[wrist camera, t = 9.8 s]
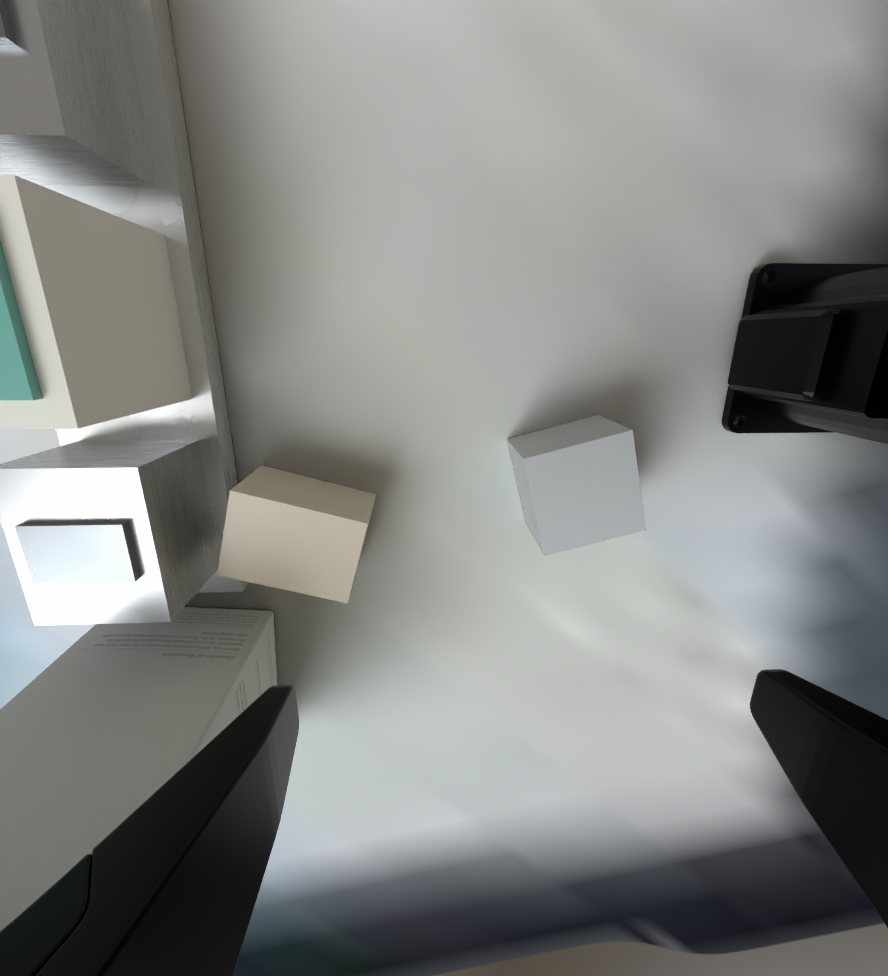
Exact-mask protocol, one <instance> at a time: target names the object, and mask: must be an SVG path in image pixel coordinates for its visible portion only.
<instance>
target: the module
mask: <svg viewBox="0 0 888 976" xmlns="http://www.w3.org/2000/svg"><path fill="white" fill-rule="evenodd" d="M190 399H192V394H191V388H190V382H189V376H188V370H187V364H186V358H185V352H184V346H183V340H182V334H181V328H180V322H179V316H178V310H177V305H176V299H175V293H174V287H173V281H172V275H171V269H170V263H169V257H168V251H167V245H166V239H165V235H162V234H160V233H157V232H155V231H152V230H150V229H147V228H145V227H142V226H140V225H137V224H135V223H132V222H130V221H127V220H125V219H123V218H120V217H118V216H115V215H113V214H110V213H108V212H105V211H103V210H100V209H98V208H95V207H93V206H90V205H88V204H85V203H83V202H80V201H78V200H75V199H73V198H70V197H68V196H66V195H63V194H61V193H58V192H56V191H53V190H51V189H48V188H46V187H43V186H41V185H38V184H36V183H33V182H31V181H28V180H26V179H23V178H21V177H18V176H16V175H0V429H79V428H83V427H86V426H90V425H94V424H98V423H102V422H106V421H110V420H113V419H117V418H121V417H125V416H129V415H133V414H137V413H140V412H144V411H148V410H152V409H156V408H160V407H163V406H167V405H171V404H175V403H179V402H183V401H187V400H190Z"/></svg>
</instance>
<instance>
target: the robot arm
mask: <svg viewBox="0 0 888 976" xmlns="http://www.w3.org/2000/svg"><path fill="white" fill-rule="evenodd" d="M765 273H767V275H768V281H767V283H766V284H764V283H763V276H764V274H765ZM728 384H729V386H728V391H727V397H726V402H725V407H724V412H723V417H722V425H723V427H724V428H725V429H726V430H727V431H731V432H735V433H808V432H837V433H841V434H846V435H850V436H854V437H859V438H863V439H868V440H872V441H877V442H881V443H886V444H888V264H792V263H771V264H766V265H762V266H759V267H757V268H756V269H755V270H754V271H753V272H752V273H751V276H750V279H749V283H748V288H747V294H746V299H745V304H744V309H743V314H742V319H741V321H740V322H739V327H738V332H737V337H736V342H735V347H734V353H733V358H732V363H731V368H730V373H729V378H728ZM737 416H739V421H738V423H737V424H736V425H734V419H735V418H736V417H737ZM750 709H751V713H752V716H753V718H754V720H755V721H756V723H757V725H758V727H759V728H760V730H761V732H762V734H763V735H764V737H765V739H766V741H767V742H768V744H769V746H770V748H771V749H772V751H773V753H774V755H775V756H776V758H777V760H778V762H779V763H780V765H781V767H782V769H783V770H784V772H785V774H786V776H787V777H788V779H789V781H790V783H791V784H792V786H793V788H794V789H795V791H796V793H797V794H798V796H799V798H800V799H801V801H802V802H803V804H804V805H805V807H806V808H807V810H808V811H809V813H810V814H811V816H812V817H813V819H814V820H815V822H816V823H817V825H818V826H819V828H820V829H821V831H822V832H823V833H824V835H825V836H826V838H827V839H828V841H829V842H830V844H831V845H832V847H833V848H834V850H835V851H836V853H837V854H838V855H839V857H840V858H841V860H842V861H843V863H844V864H845V866H846V867H847V869H848V870H849V872H850V873H851V874H852V876H853V877H854V879H855V880H856V882H857V883H858V885H859V886H860V888H861V889H862V891H863V892H864V894H865V895H866V896H867V898H868V899H869V901H870V902H871V904H872V905H873V907H874V908H875V910H876V911H877V913H878V914H879V916H880V917H881V918H882V920H883V921H884V923H885V924H886V925H887V927H888V720H887V719H884V718H882V717H880V716H878V715H876V714H874V713H872V712H870V711H868V710H866V709H864V708H862V707H860V706H858V705H856V704H854V703H852V702H850V701H847V700H845V699H843V698H841V697H839V696H837V695H835V694H833V693H831V692H829V691H827V690H825V689H823V688H821V687H819V686H817V685H815V684H813V683H810V682H808V681H806V680H804V679H802V678H800V677H798V676H796V675H794V674H792V673H790V672H788V671H786V670H781V669H771V670H762V671H760V672H759V673H758V675H757V678H756V682H755V686H754V689H753V693H752V697H751V701H750ZM298 730H299V716H298V708H297V700H296V692H295V689H294V687H293V686H292V685H275V686H271V687H269V688H268V689H267V690H266V691H265V692H264V693H263V694H262V695H260V696H259V697H258V698H257V699H256V700H255V701H254V702H253V703H252V704H251V705H250V706H248V707H247V708H246V709H245V710H244V711H243V712H242V713H241V714H240V715H239V716H237V717H236V718H235V719H234V720H233V721H232V722H231V723H230V724H229V725H228V726H227V727H225V728H224V729H223V730H222V731H221V732H220V733H219V734H218V735H217V736H216V737H215V738H213V739H212V740H211V741H210V742H209V743H208V744H207V745H206V746H205V747H204V748H203V749H201V750H200V751H199V752H198V753H197V754H196V755H195V756H194V757H193V758H192V759H191V760H189V761H188V762H187V763H186V764H185V765H184V766H183V767H182V768H181V769H180V770H179V771H177V772H176V773H175V774H174V775H173V776H172V777H171V778H170V779H169V780H168V781H166V782H165V783H164V784H163V785H162V786H161V787H160V788H159V789H158V790H157V791H156V792H154V793H153V794H152V795H151V796H150V797H149V798H148V799H147V800H146V801H145V802H144V803H142V804H141V805H140V806H139V807H138V808H137V809H136V810H135V811H134V812H133V813H132V814H130V815H129V816H128V817H127V818H126V819H125V820H124V821H123V822H122V823H121V824H120V825H118V826H117V827H116V828H115V829H114V830H113V831H112V832H111V833H110V834H109V835H107V836H106V837H105V838H104V839H103V840H102V841H101V842H100V843H99V844H98V845H97V846H95V847H94V848H93V850H92V854H87V855H85V856H84V857H83V858H82V859H81V860H80V861H79V862H78V863H77V864H76V865H74V866H73V867H72V868H71V869H70V870H69V871H68V872H67V873H66V874H65V875H64V876H62V877H61V878H60V879H59V880H58V881H57V882H56V883H55V884H53V885H52V886H51V887H50V888H49V889H48V890H47V891H46V892H44V893H43V894H42V895H41V896H40V897H39V898H38V899H37V900H35V901H34V902H33V903H32V904H31V905H30V906H29V907H28V908H26V909H25V910H24V911H23V912H22V913H21V914H20V915H19V916H17V917H16V918H15V919H14V920H13V921H12V922H10V923H9V924H8V925H7V926H6V927H4V928H3V929H2V930H1V931H0V976H233V973H234V970H235V967H236V963H237V960H238V957H239V954H240V950H241V947H242V944H243V941H244V937H245V934H246V931H247V928H248V925H249V921H250V918H251V915H252V912H253V908H254V905H255V902H256V899H257V895H258V892H259V889H260V886H261V882H262V879H263V876H264V873H265V870H266V866H267V863H268V860H269V857H270V853H271V850H272V847H273V844H274V840H275V837H276V834H277V830H278V827H279V823H280V819H281V814H282V810H283V805H284V800H285V795H286V790H287V785H288V781H289V776H290V771H291V766H292V761H293V756H294V751H295V746H296V741H297V736H298Z"/></svg>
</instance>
